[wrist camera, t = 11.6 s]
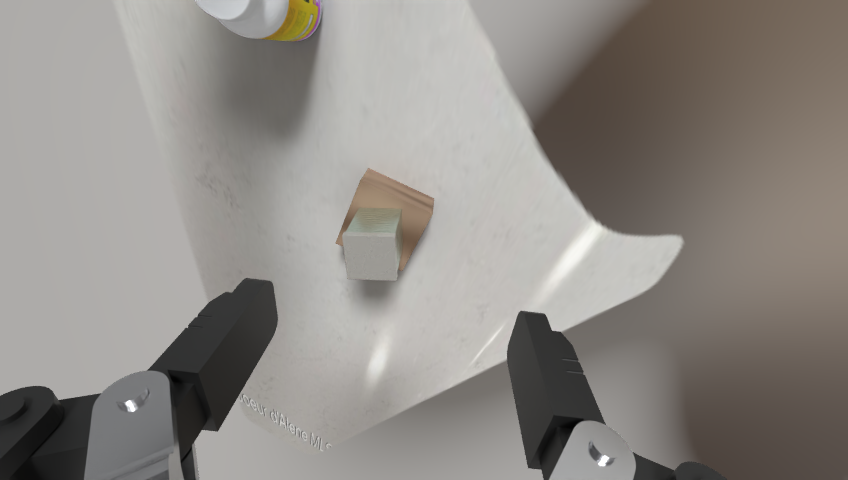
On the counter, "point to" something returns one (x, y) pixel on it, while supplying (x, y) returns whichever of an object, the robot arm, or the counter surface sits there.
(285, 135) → the counter surface
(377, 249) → the tea tin
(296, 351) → the counter surface
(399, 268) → the walnut block
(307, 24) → the supplement bottle
